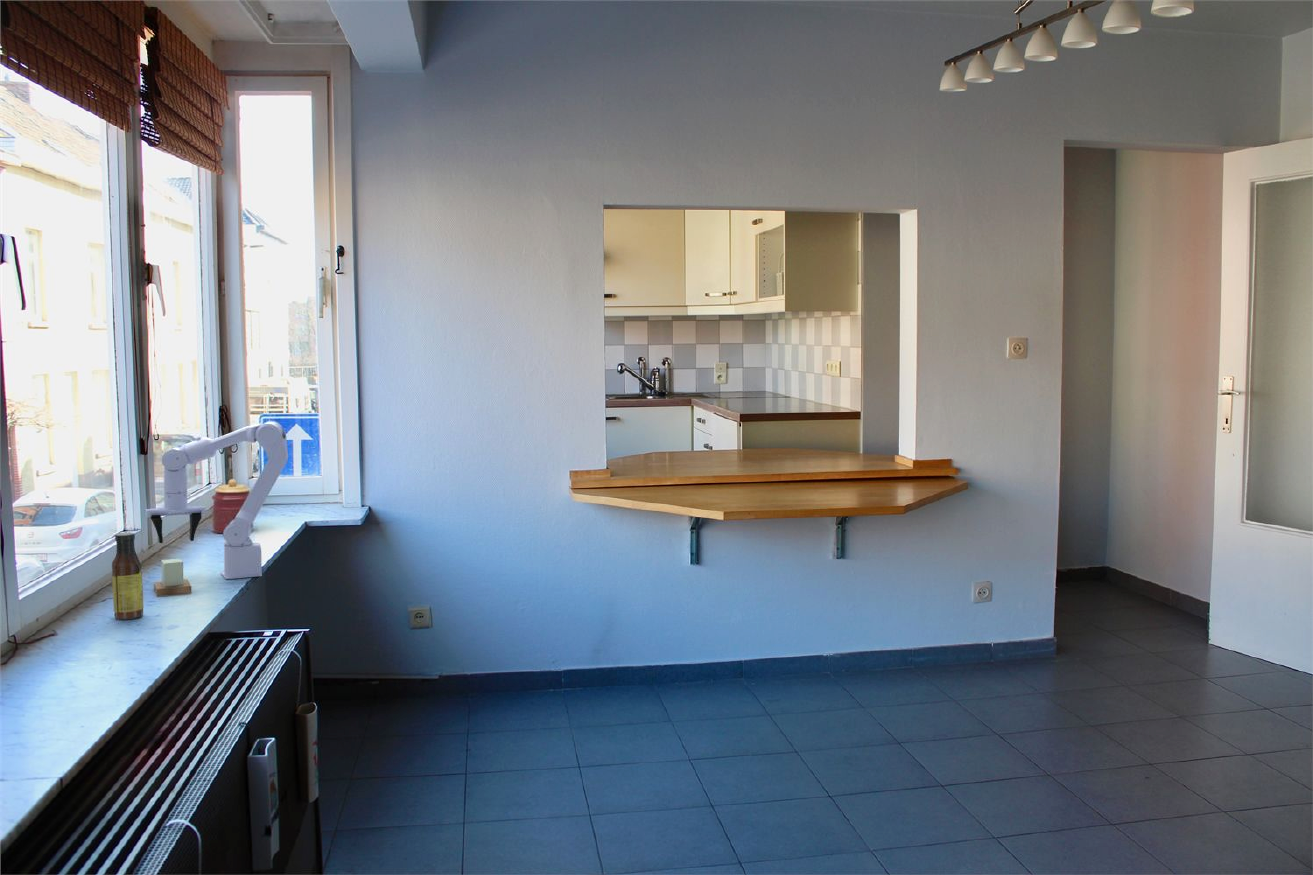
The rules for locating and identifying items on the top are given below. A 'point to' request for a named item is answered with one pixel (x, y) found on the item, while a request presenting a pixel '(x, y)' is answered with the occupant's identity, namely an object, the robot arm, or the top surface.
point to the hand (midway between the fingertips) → (176, 541)
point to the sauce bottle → (127, 579)
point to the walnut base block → (172, 589)
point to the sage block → (172, 572)
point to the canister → (227, 504)
